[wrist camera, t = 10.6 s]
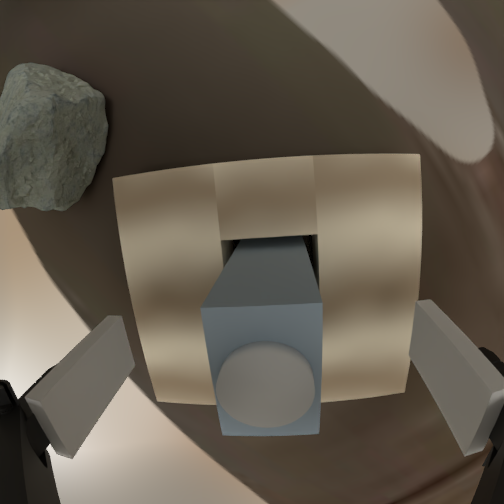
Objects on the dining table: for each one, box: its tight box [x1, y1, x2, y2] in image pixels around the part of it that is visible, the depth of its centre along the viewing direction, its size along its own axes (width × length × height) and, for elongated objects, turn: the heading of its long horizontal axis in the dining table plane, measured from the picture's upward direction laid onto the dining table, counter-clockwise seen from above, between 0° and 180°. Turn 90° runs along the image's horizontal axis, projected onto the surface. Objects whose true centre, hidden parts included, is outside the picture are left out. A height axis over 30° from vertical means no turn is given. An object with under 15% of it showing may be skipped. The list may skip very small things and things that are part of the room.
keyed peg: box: [200, 235, 323, 436], centre depth 17 cm, size 4×6×13 cm, turn 4°
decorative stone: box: [0, 63, 108, 211], centre depth 19 cm, size 13×11×10 cm
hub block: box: [112, 154, 422, 405], centre depth 21 cm, size 16×18×4 cm
